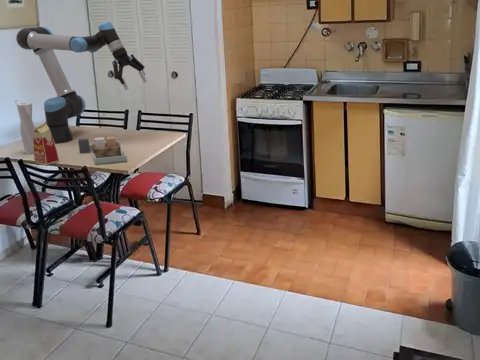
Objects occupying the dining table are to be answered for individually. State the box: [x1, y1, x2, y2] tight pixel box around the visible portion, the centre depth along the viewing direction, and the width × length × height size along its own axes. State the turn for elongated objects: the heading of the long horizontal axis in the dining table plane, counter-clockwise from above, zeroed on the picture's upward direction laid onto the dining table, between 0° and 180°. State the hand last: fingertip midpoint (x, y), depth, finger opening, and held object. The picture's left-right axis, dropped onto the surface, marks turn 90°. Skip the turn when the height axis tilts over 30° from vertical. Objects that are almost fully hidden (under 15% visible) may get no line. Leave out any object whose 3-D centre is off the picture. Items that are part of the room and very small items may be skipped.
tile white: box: [94, 136, 106, 148], centre depth 284 cm, size 4×4×4 cm
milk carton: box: [33, 121, 60, 166], centre depth 273 cm, size 9×9×20 cm
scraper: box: [77, 137, 121, 154], centre depth 295 cm, size 21×4×7 cm, turn 108°
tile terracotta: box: [105, 136, 117, 147], centre depth 285 cm, size 4×4×4 cm
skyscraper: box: [14, 99, 35, 155], centre depth 289 cm, size 8×8×28 cm
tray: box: [92, 150, 128, 166], centre depth 278 cm, size 15×10×3 cm, turn 108°
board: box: [91, 141, 122, 158], centre depth 287 cm, size 13×11×5 cm
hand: (136, 85), depth 304 cm, fingers open, 13 cm apart
